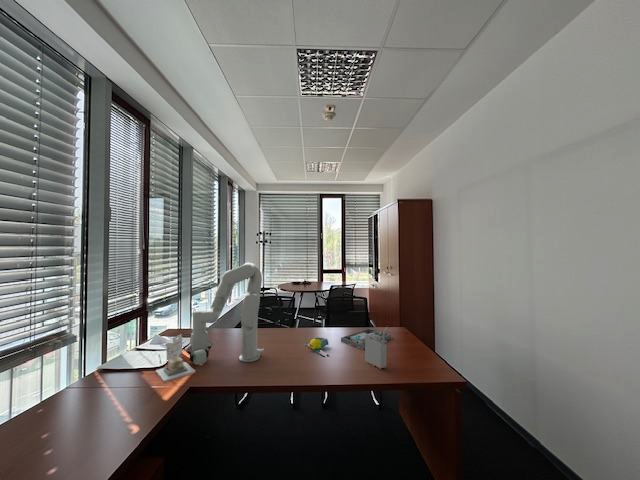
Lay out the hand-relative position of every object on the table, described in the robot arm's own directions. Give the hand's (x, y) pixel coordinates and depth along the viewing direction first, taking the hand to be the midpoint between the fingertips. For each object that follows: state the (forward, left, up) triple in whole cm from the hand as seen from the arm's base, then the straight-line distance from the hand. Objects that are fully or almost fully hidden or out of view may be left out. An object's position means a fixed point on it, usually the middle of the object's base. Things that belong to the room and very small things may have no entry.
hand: (199, 359), depth 174 cm
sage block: (0, 0, -2) cm, 2 cm away
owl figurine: (-67, +34, -2) cm, 75 cm away
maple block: (+15, +5, -1) cm, 16 cm away
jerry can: (-75, +77, -2) cm, 108 cm away
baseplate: (+15, +5, -2) cm, 16 cm away
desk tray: (-105, +46, -2) cm, 115 cm away
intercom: (-108, +45, -2) cm, 117 cm away
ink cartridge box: (+10, -14, -2) cm, 17 cm away
